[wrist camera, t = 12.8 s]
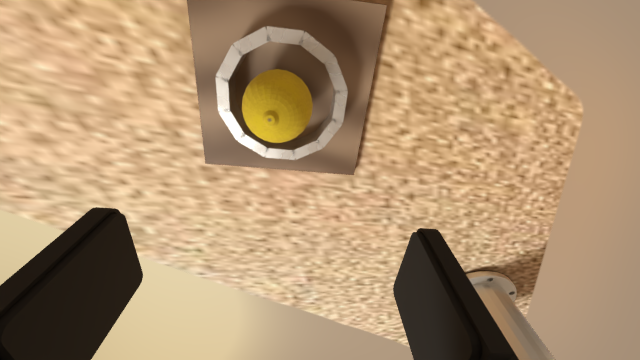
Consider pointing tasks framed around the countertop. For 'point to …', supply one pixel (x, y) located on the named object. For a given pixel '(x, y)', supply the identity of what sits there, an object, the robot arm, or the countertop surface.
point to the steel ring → (235, 116)
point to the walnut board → (298, 13)
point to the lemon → (277, 106)
